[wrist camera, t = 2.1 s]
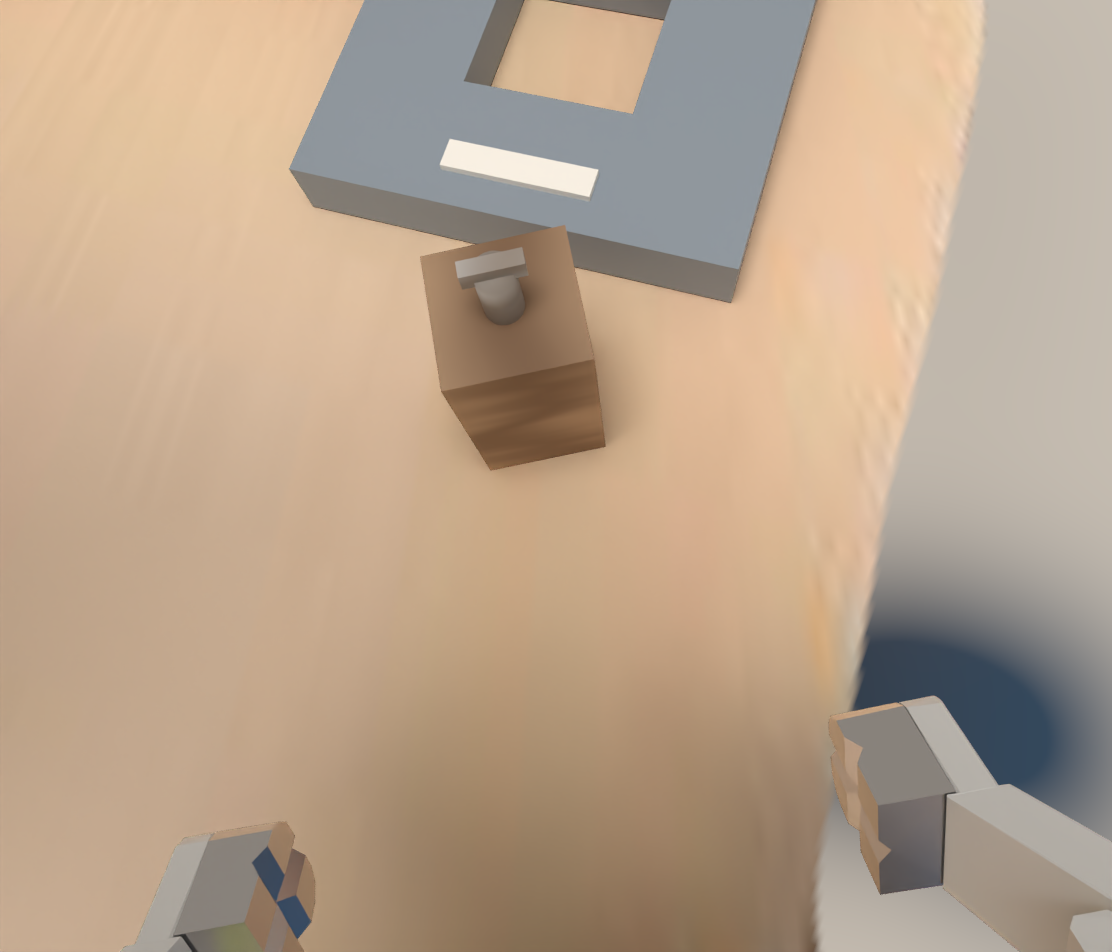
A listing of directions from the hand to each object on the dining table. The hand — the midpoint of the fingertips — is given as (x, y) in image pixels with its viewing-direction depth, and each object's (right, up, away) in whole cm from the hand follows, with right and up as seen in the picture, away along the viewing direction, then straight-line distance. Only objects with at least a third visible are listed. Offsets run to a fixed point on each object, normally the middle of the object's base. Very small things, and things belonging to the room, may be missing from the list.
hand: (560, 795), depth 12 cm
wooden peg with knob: (-1, +7, +19) cm, 20 cm away
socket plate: (+1, +22, +23) cm, 32 cm away
